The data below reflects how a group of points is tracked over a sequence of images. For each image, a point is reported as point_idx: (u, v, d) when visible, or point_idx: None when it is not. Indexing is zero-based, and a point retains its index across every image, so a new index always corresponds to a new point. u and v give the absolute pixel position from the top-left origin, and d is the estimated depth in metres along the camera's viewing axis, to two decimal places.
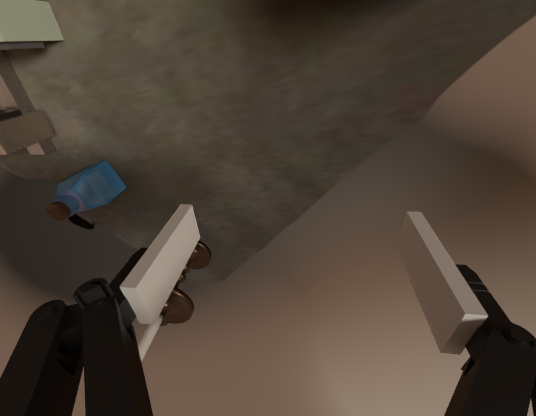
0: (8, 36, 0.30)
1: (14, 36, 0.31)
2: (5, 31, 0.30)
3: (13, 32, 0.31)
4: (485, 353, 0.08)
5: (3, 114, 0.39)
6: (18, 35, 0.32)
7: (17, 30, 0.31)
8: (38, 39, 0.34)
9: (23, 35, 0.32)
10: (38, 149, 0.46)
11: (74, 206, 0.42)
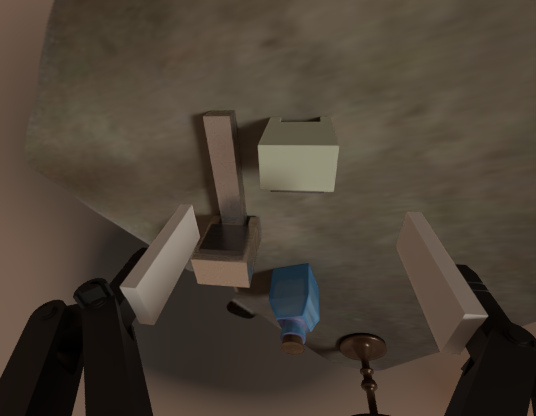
0: None
1: None
2: None
3: None
4: (485, 353, 0.08)
5: (244, 239, 0.32)
6: None
7: None
8: None
9: None
10: None
11: (305, 336, 0.36)
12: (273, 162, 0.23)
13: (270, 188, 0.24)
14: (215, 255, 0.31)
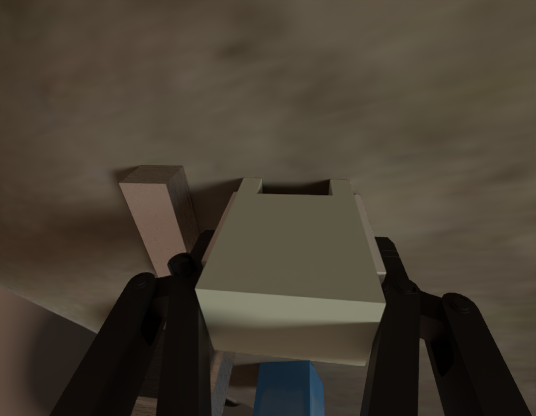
0: None
1: None
2: None
3: None
4: (385, 309, 0.10)
5: None
6: None
7: None
8: None
9: None
10: None
11: None
12: (234, 316, 0.10)
13: (232, 350, 0.12)
14: (155, 405, 0.18)
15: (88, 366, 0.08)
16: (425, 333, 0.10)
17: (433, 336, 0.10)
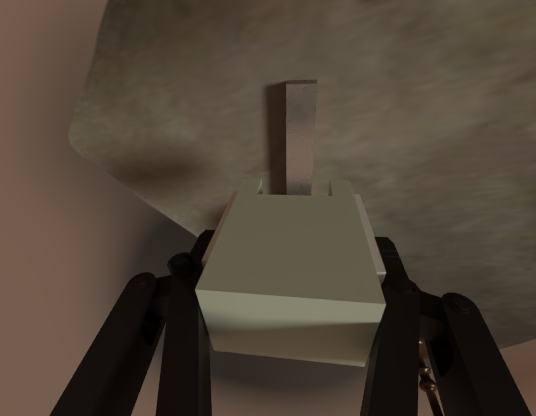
0: None
1: None
2: None
3: None
4: (385, 309, 0.10)
5: None
6: None
7: None
8: None
9: None
10: None
11: None
12: (234, 317, 0.10)
13: (233, 350, 0.12)
14: None
15: (88, 366, 0.08)
16: (425, 333, 0.10)
17: (433, 336, 0.10)
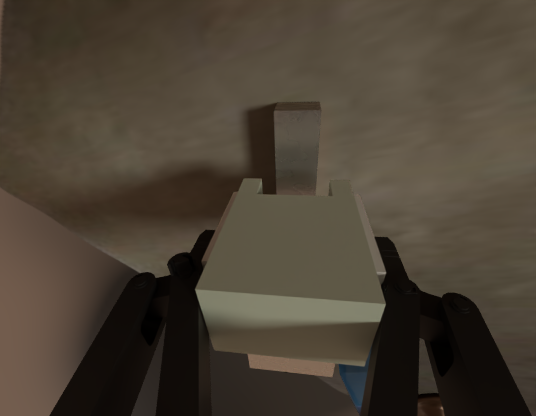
0: None
1: None
2: None
3: None
4: (385, 309, 0.10)
5: None
6: None
7: None
8: None
9: None
10: None
11: None
12: (234, 316, 0.10)
13: (233, 350, 0.12)
14: None
15: (88, 366, 0.08)
16: (425, 333, 0.10)
17: (433, 336, 0.10)
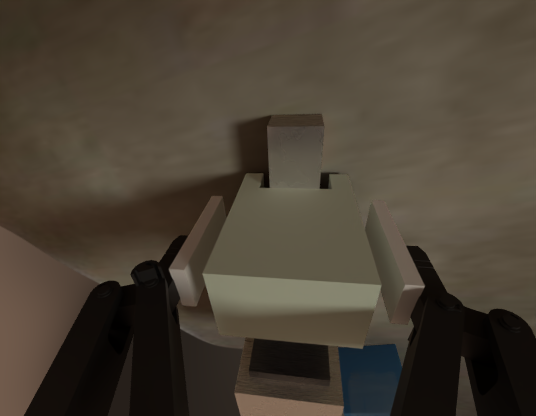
0: None
1: None
2: None
3: None
4: (423, 322, 0.09)
5: None
6: None
7: None
8: None
9: None
10: None
11: None
12: (239, 300, 0.11)
13: (237, 335, 0.12)
14: (280, 383, 0.17)
15: (52, 382, 0.08)
16: (469, 352, 0.10)
17: (478, 355, 0.10)
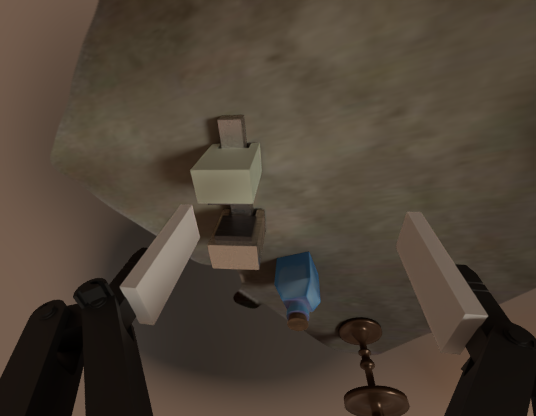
0: (253, 196, 0.31)
1: (254, 193, 0.31)
2: (252, 193, 0.30)
3: (254, 190, 0.31)
4: (485, 353, 0.08)
5: (253, 226, 0.36)
6: (255, 190, 0.32)
7: (255, 186, 0.32)
8: None
9: (255, 188, 0.32)
10: None
11: (308, 314, 0.40)
12: (204, 182, 0.29)
13: (205, 202, 0.31)
14: (229, 241, 0.35)
15: None
16: None
17: None
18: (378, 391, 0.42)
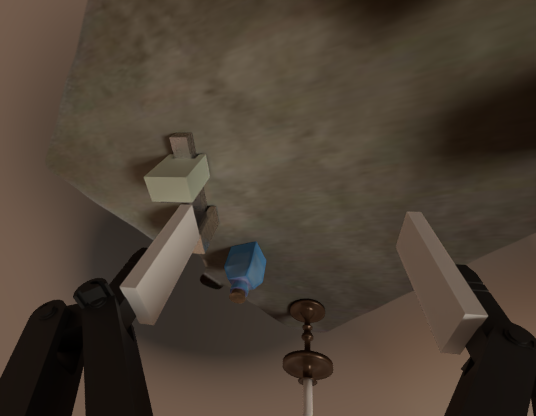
0: (193, 197, 0.41)
1: (195, 194, 0.41)
2: (192, 194, 0.40)
3: (195, 192, 0.41)
4: (485, 353, 0.08)
5: (201, 220, 0.46)
6: (196, 192, 0.42)
7: (196, 189, 0.41)
8: (202, 187, 0.44)
9: (197, 190, 0.42)
10: None
11: (247, 290, 0.50)
12: (154, 185, 0.39)
13: (157, 200, 0.41)
14: None
15: None
16: None
17: None
18: (306, 354, 0.52)
